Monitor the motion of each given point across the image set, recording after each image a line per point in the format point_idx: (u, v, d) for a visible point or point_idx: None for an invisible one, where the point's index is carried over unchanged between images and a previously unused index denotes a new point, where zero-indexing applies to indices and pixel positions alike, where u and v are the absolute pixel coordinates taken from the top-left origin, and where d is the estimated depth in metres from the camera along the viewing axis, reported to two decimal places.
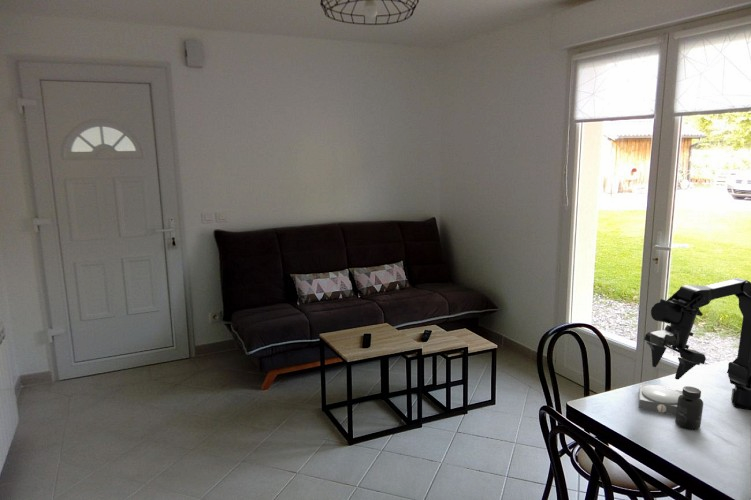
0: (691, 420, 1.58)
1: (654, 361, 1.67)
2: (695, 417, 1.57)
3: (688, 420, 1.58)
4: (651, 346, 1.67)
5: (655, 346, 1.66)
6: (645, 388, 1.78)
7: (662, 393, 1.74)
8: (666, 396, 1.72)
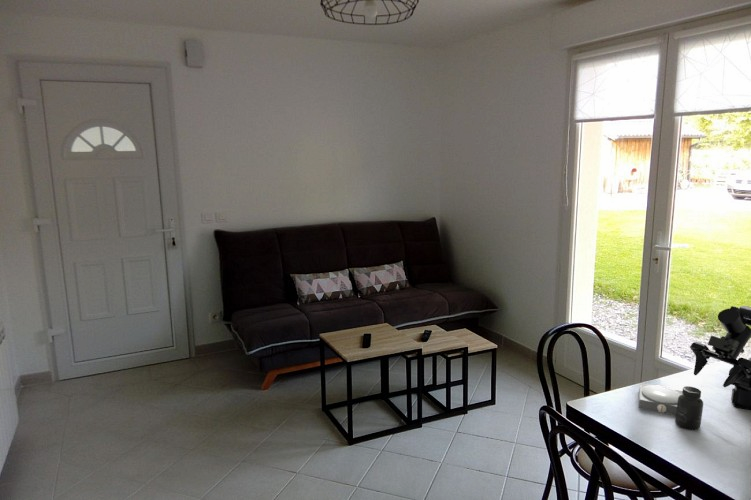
0: (691, 420, 1.58)
1: (697, 369, 1.66)
2: (695, 417, 1.57)
3: (688, 420, 1.58)
4: (698, 354, 1.67)
5: (702, 355, 1.67)
6: (645, 388, 1.78)
7: (662, 393, 1.74)
8: (666, 396, 1.72)
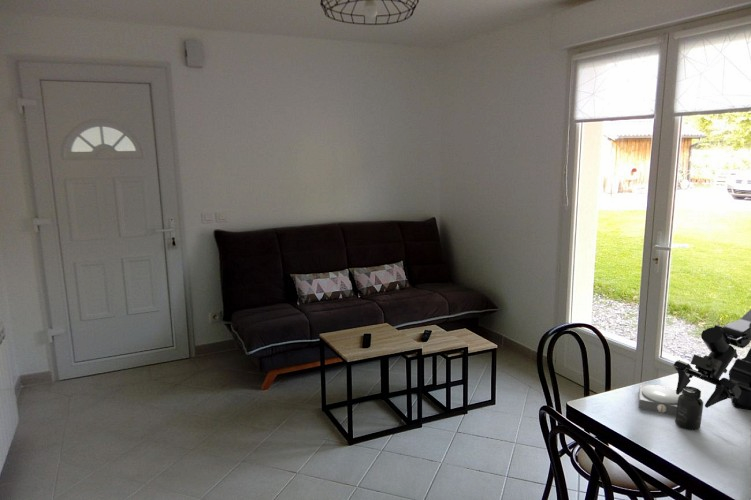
0: (691, 420, 1.58)
1: (679, 388, 1.64)
2: (695, 417, 1.57)
3: (688, 420, 1.58)
4: (681, 372, 1.65)
5: (684, 374, 1.65)
6: (645, 388, 1.78)
7: (662, 393, 1.74)
8: (666, 396, 1.72)
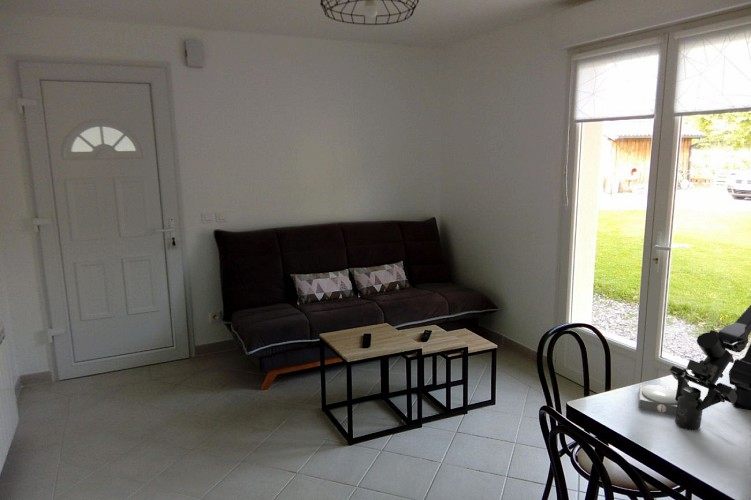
0: (691, 420, 1.58)
1: (679, 394, 1.63)
2: (695, 417, 1.57)
3: (688, 420, 1.58)
4: (680, 379, 1.64)
5: (684, 380, 1.63)
6: (645, 388, 1.78)
7: (662, 393, 1.74)
8: (666, 396, 1.72)
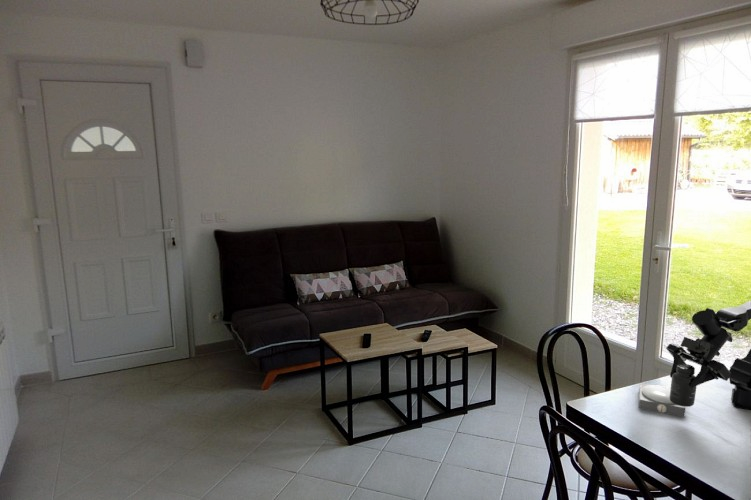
0: (683, 396, 1.60)
1: (673, 371, 1.65)
2: (687, 393, 1.59)
3: (680, 396, 1.60)
4: (676, 356, 1.66)
5: (679, 357, 1.65)
6: (645, 388, 1.78)
7: (662, 393, 1.74)
8: (666, 396, 1.72)
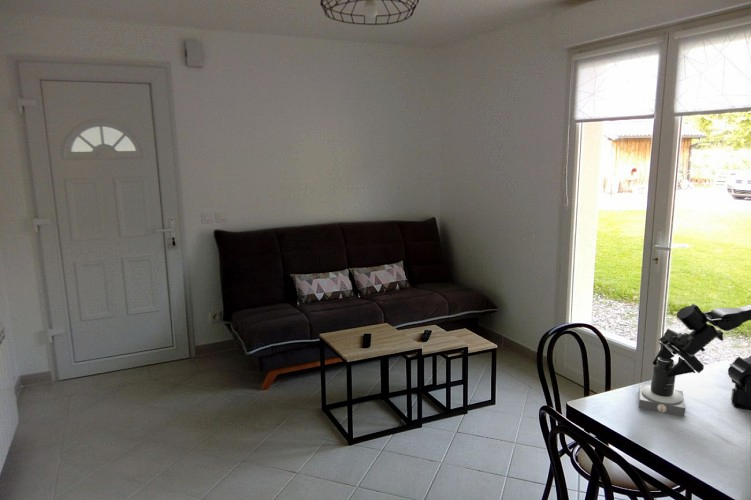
0: (659, 386, 1.72)
1: (656, 359, 1.77)
2: (662, 383, 1.71)
3: (656, 386, 1.72)
4: (661, 346, 1.77)
5: (665, 348, 1.76)
6: (645, 388, 1.78)
7: None
8: None
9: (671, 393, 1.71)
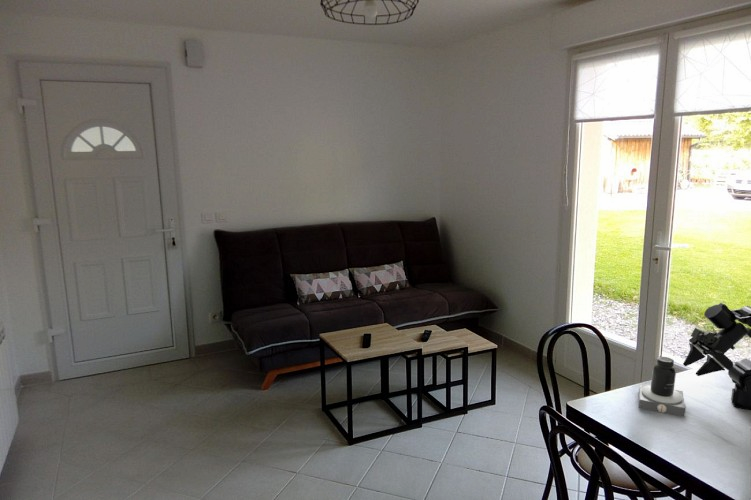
0: (659, 386, 1.72)
1: (687, 360, 1.77)
2: (662, 383, 1.71)
3: (656, 386, 1.72)
4: (691, 346, 1.77)
5: (695, 348, 1.76)
6: (645, 388, 1.78)
7: None
8: None
9: (671, 393, 1.71)
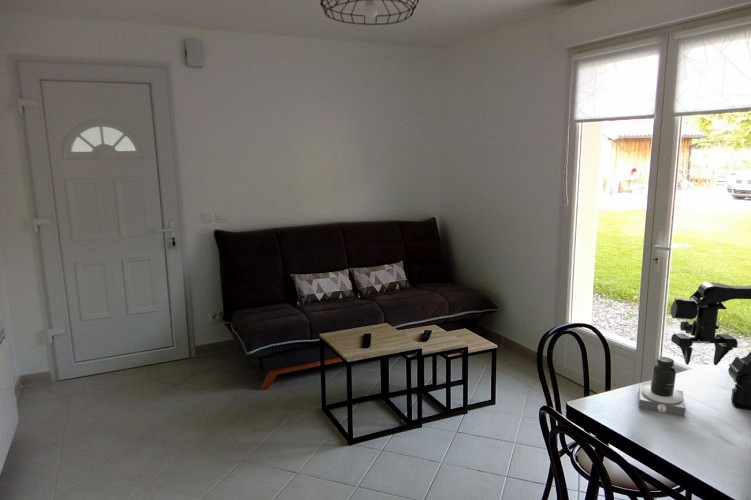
0: (659, 386, 1.72)
1: (714, 359, 1.75)
2: (662, 383, 1.71)
3: (656, 386, 1.72)
4: None
5: (716, 344, 1.75)
6: (645, 388, 1.78)
7: None
8: None
9: (671, 393, 1.71)
